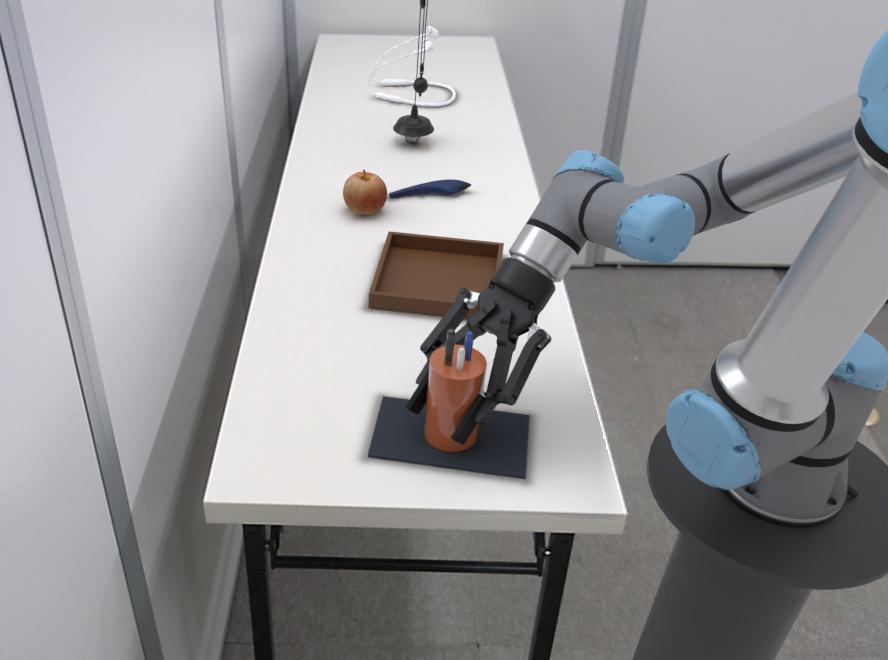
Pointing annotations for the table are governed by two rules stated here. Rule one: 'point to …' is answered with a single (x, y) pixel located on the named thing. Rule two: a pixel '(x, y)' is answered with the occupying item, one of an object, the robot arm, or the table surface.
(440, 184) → the tapered navy handle
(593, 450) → the table surface
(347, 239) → the table surface
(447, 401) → the pen pot
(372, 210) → the apple
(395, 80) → the earphone
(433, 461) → the mat
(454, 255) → the tray
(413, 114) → the light fixture
